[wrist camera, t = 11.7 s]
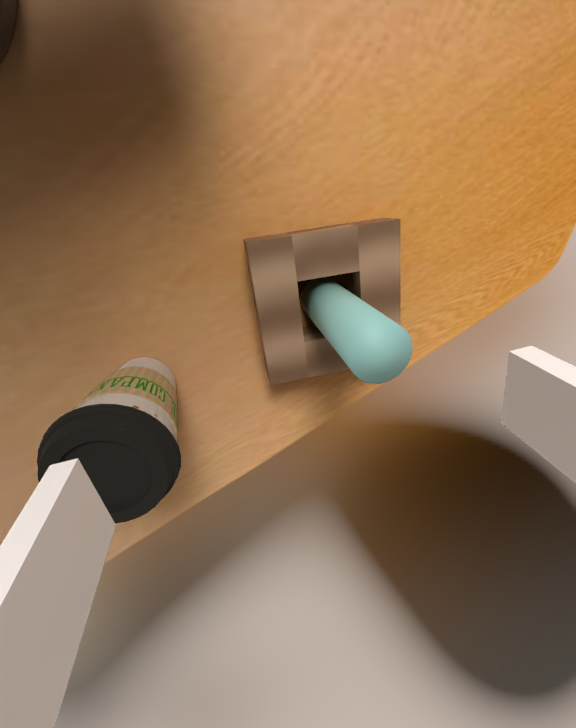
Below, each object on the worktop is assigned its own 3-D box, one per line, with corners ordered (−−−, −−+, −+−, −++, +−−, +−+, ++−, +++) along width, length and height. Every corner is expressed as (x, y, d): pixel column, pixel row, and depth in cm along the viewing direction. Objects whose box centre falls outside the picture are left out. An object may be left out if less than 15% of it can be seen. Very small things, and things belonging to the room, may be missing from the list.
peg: (298, 281, 37) (346, 328, 23) (339, 274, 38) (412, 316, 23) (303, 321, 39) (350, 389, 24) (342, 314, 39) (411, 377, 25)
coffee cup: (212, 380, 40) (207, 470, 26) (153, 437, 42) (120, 549, 28) (137, 321, 36) (86, 390, 22) (76, 386, 38) (-6, 487, 24)
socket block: (243, 239, 35) (246, 242, 31) (382, 217, 36) (400, 218, 32) (266, 369, 40) (270, 385, 37) (385, 346, 42) (400, 359, 38)
